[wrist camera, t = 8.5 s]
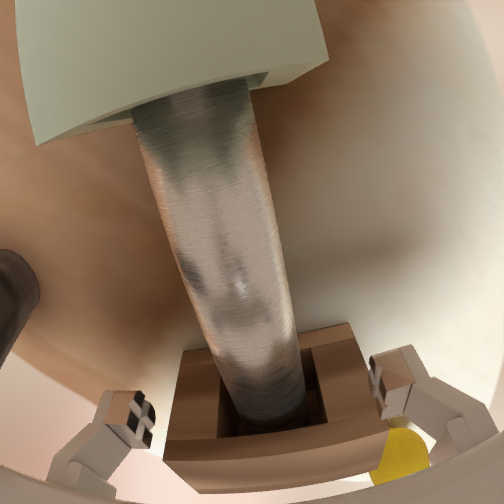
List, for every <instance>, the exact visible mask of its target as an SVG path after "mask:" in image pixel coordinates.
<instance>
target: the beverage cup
mask: <svg viewBox="0 0 504 504" xmlns="http://www.w3.org/2000/svg"><path fill="white" fill-rule="evenodd" d="M39 296H40V291H39V285H38V282H37V280H36V277H35V275H34V273H33V272H32V270H31V268H30V267H29V265H28V264H27V263H26V262H25V261H24V260H23V259H22V258H21V257H20V256H19V255H17V254H16V253H14V252H12V251H9V250H0V369H1V366H2V364H3V363H4V361H5V359H6V357H7V355H8V353H9V352H10V350H11V348H12V346H13V345H14V343H15V341H16V339H17V338H18V336H19V334H20V333H21V331H22V329H23V328H24V326H25V324H26V323H27V321H28V319H29V318H30V314H31V312H32V311H33V309H34V308H35V306H36V305H37V303H38V302H39Z"/></svg>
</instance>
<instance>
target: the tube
mask: <svg viewBox="0 0 504 504" xmlns="http://www.w3.org/2000/svg"><path fill="white" fill-rule="evenodd" d="M130 112H131V116H132V120H133V124H134V128H135V132H136V135H137V139H138V143H139V146H140V150H141V154H142V157H143V161H144V164H145V168H146V171H147V174H148V178H149V181H150V184H151V188H152V191H153V194H154V197H155V201H156V204H157V207H158V210H159V213H160V216H161V219H162V222H163V225H164V228H165V231H166V234H167V237H168V240H169V243H170V246H171V249H172V252H173V255H174V257H175V260H176V263H177V266H178V269H179V271H180V274H181V277H182V280H183V282H184V285H185V288H186V290H187V293H188V296H189V298H190V301H191V304H192V306H193V309H194V311H195V314H196V316H197V319H198V321H199V324H200V326H201V329H202V331H203V334H204V336H205V339H206V341H207V344H208V346H209V348H210V351H211V353H212V356H213V358H214V360H215V363H216V365H217V367H218V370H219V372H220V374H221V376H222V379H223V381H224V383H225V385H226V388H227V390H228V392H229V394H230V397H231V399H232V401H233V403H234V405H235V407H236V410H237V412H238V414H239V416H240V418H241V420H242V422H243V425H244V427H245V429H246V431H247V433H248V435H249V436H250V435H258V434H266V433H274V432H280V431H287V430H293V429H299V428H304V427H308V426H309V422H310V413H309V406H308V402H307V395H306V388H305V382H304V375H303V369H302V363H301V357H300V350H299V344H298V338H297V332H296V326H295V320H294V315H293V309H292V303H291V297H290V292H289V286H288V280H287V275H286V269H285V264H284V259H283V253H282V248H281V243H280V237H279V232H278V227H277V222H276V217H275V211H274V206H273V201H272V196H271V191H270V186H269V182H268V177H267V172H266V167H265V162H264V157H263V153H262V148H261V143H260V139H259V134H258V129H257V125H256V120H255V116H254V111H253V107H252V102H251V98H250V93H249V89H248V85H247V80H246V79H230V80H223V81H219V82H215V83H211V84H207V85H203V86H199V87H195V88H192V89H188V90H185V91H181V92H178V93H174V94H171V95H168V96H165V97H161V98H158V99H155V100H152V101H149V102H146V103H143V104H140V105H138V106H135V107H133V108H132V109H131V110H130Z"/></svg>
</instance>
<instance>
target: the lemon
mask: <svg viewBox="0 0 504 504" xmlns="http://www.w3.org/2000/svg"><path fill="white" fill-rule="evenodd" d="M389 428H390V432H389V435H388V439H387V442H386V445H385V448H384V451H383V454H382V457H381V460H380V463H379V466H378V469H377V470H373V471H370V472H369V474H370V477H371V479H372V481H373V483H374V485H375V486H376V485H379V484H382V483H386V482H389V481H392V480H395V479H398V478H401V477H404V476H407V475H409V474H412V473H415V472H417V471H420V470H423V469H425V468H428V467H430V461H429V457H428V455H429V454H428V450H427V447H426V444H425V442H424V441H423V439H422V438H421V437H420V436H419V435H418V434H417V433H416V432H414V431H413V430H410V429H407V428H392V427H389Z"/></svg>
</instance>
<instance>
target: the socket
mask: <svg viewBox="0 0 504 504" xmlns="http://www.w3.org/2000/svg"><path fill="white" fill-rule="evenodd" d="M297 338H298V344H299V350H300V357H301V363H302V369H303V375H304V382H305V388H306V395H307V402H308V406H309V413H310V422H309V426H308V427H304V428H299V429H293V430H287V431H280V432H274V433H266V434H258V435H250V436H249V435H248V433H247V431H246V429H245V427H244V425H243V422H242V420H241V418H240V416H239V414H238V412H237V410H236V407H235V405H234V403H233V401H232V399H231V397H230V394H229V392H228V390H227V388H226V385H225V383H224V381H223V379H222V376H221V374H220V372H219V370H218V367H217V365H216V363H215V360H214V358H213V356H212V353H211V351H210V349H203V350H195V351H187V352H183V354H182V359H181V364H180V369H179V373H178V378H177V383H176V389H175V394H174V399H173V404H172V409H171V415H170V420H169V426H168V431H167V437H166V443H165V448H164V454H163V462H164V463H166V464H167V465H168V466H169V467H170V468H171V469H172V470H173V471H174V472H175V473H176V474H177V475H178V476H180V477H181V478H182V479H183V480H184V481H185V482H186V483H187V484H189V485H190V486H191V487H192V488H193V489H195V490H196V491H197V492H198V493H199V494H227V493H247V492H261V491H270V490H280V489H287V488H294V487H301V486H307V485H313V484H318V483H324V482H328V481H334V480H338V479H342V478H347V477H351V476H355V475H359V474H363V473H366V472H370V471H373V470H377V469H378V466H379V463H380V460H381V457H382V454H383V451H384V448H385V445H386V442H387V439H388V435H389V432H390V428H389V425H388V422H387V419H383V420H380V417H379V414H378V411H377V408H376V399H377V398H375V397H374V396H372V394H371V391H370V387H369V382H368V369H367V366H366V363H365V361H364V358H363V356H362V353H361V351H360V348H359V346H358V344H357V341H356V339H355V336H354V334H353V331H352V329H351V327H350V324H349V323H345V324H341V325H337V326H332V327H328V328H323V329H319V330H314V331H309V332H304V333H299V334H297Z"/></svg>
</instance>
